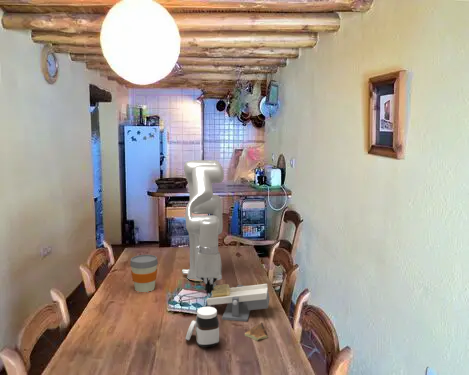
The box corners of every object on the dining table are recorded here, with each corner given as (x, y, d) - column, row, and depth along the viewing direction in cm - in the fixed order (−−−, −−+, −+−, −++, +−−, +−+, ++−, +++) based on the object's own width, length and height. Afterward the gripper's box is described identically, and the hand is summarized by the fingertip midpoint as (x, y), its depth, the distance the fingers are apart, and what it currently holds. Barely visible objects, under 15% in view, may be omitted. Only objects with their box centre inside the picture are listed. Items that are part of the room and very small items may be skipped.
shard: (261, 325, 151) (261, 321, 151) (278, 332, 146) (278, 327, 146) (243, 336, 143) (243, 332, 143) (260, 343, 138) (260, 339, 138)
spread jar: (221, 347, 135) (221, 315, 133) (188, 353, 132) (188, 320, 130) (213, 331, 146) (213, 301, 145) (183, 335, 143) (182, 305, 142)
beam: (209, 314, 160) (206, 299, 159) (214, 304, 170) (211, 289, 169) (267, 308, 156) (265, 293, 155) (269, 298, 165) (267, 283, 165)
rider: (213, 300, 161) (212, 290, 161) (216, 294, 167) (214, 285, 166) (228, 298, 160) (226, 289, 160) (230, 293, 165) (228, 284, 165)
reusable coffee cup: (130, 295, 179) (129, 263, 177) (131, 285, 191) (130, 255, 189) (158, 293, 181) (157, 261, 179) (158, 283, 193) (157, 253, 191)
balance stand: (222, 319, 155) (222, 299, 154) (229, 301, 172) (229, 283, 171) (247, 321, 154) (247, 300, 153) (252, 303, 171) (252, 284, 169)
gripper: (188, 251, 159) (189, 294, 162) (225, 253, 156) (225, 297, 159) (193, 246, 166) (194, 287, 169) (228, 247, 164) (228, 289, 166)
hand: (209, 292), depth 164 cm, fingers closed
